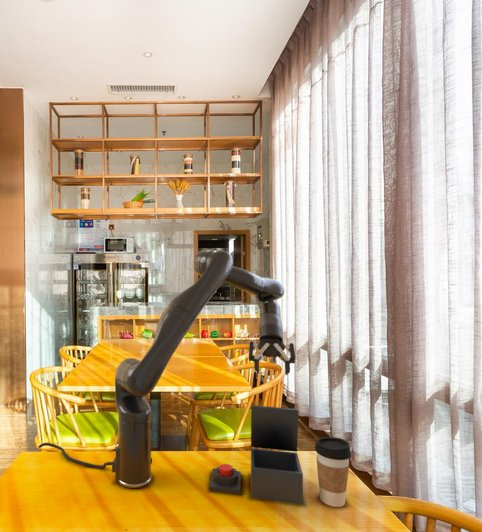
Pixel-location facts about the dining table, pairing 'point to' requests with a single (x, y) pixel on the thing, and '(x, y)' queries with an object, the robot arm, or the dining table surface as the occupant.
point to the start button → (226, 470)
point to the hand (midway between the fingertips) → (272, 372)
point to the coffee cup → (332, 469)
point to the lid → (274, 428)
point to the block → (226, 482)
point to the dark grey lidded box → (276, 476)
